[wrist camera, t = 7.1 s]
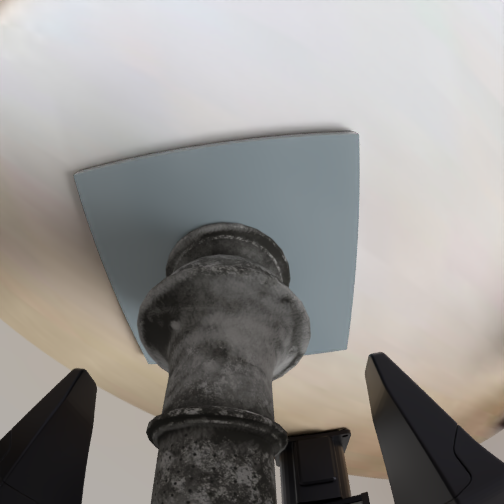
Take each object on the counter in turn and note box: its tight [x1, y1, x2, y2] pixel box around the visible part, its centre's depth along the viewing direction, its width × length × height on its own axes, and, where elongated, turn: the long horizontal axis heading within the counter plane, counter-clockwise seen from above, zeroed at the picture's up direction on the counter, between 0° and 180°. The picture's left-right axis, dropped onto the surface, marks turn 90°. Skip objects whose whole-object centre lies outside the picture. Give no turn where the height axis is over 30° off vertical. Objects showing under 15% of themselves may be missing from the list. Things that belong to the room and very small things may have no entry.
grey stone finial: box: [137, 222, 311, 504], centre depth 8 cm, size 6×6×12 cm
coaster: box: [74, 131, 359, 364], centre depth 13 cm, size 11×11×1 cm
